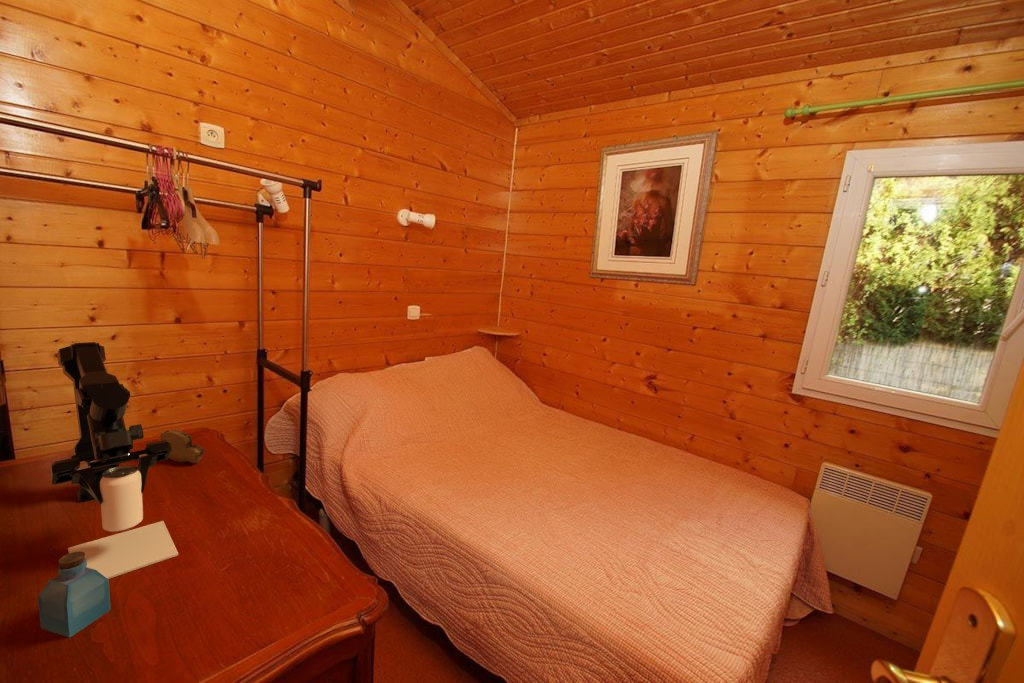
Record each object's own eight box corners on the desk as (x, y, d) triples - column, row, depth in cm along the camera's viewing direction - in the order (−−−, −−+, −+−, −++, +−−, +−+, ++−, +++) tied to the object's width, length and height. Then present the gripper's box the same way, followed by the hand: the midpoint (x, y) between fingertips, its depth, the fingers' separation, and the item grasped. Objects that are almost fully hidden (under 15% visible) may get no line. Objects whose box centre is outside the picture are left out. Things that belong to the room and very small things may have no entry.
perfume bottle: (69, 637, 72) (64, 573, 70) (41, 628, 73) (35, 564, 71) (110, 610, 78) (106, 550, 76) (83, 602, 79) (79, 543, 77)
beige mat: (68, 549, 92) (68, 547, 92) (163, 522, 104) (163, 520, 104) (73, 590, 82) (73, 588, 82) (178, 555, 93) (178, 553, 93)
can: (140, 528, 91) (137, 475, 89) (98, 536, 88) (95, 481, 86) (145, 512, 96) (143, 462, 95) (106, 519, 93) (103, 467, 91)
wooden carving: (210, 461, 135) (209, 431, 134) (197, 468, 131) (196, 436, 129) (165, 453, 138) (164, 423, 136) (151, 459, 133) (150, 428, 132)
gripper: (47, 423, 83) (59, 499, 78) (168, 406, 98) (184, 468, 93) (46, 448, 89) (57, 520, 84) (159, 428, 104) (174, 488, 99)
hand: (122, 497), depth 90 cm, fingers closed on can, 6 cm apart
